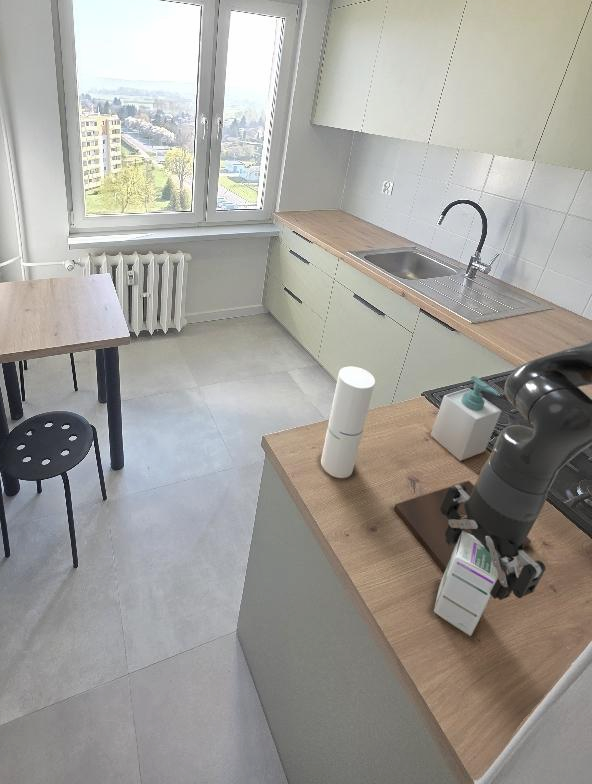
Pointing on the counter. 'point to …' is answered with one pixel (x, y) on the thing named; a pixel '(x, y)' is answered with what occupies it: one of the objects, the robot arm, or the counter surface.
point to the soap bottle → (466, 421)
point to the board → (433, 523)
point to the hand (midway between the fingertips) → (472, 566)
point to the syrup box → (466, 584)
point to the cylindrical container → (347, 420)
